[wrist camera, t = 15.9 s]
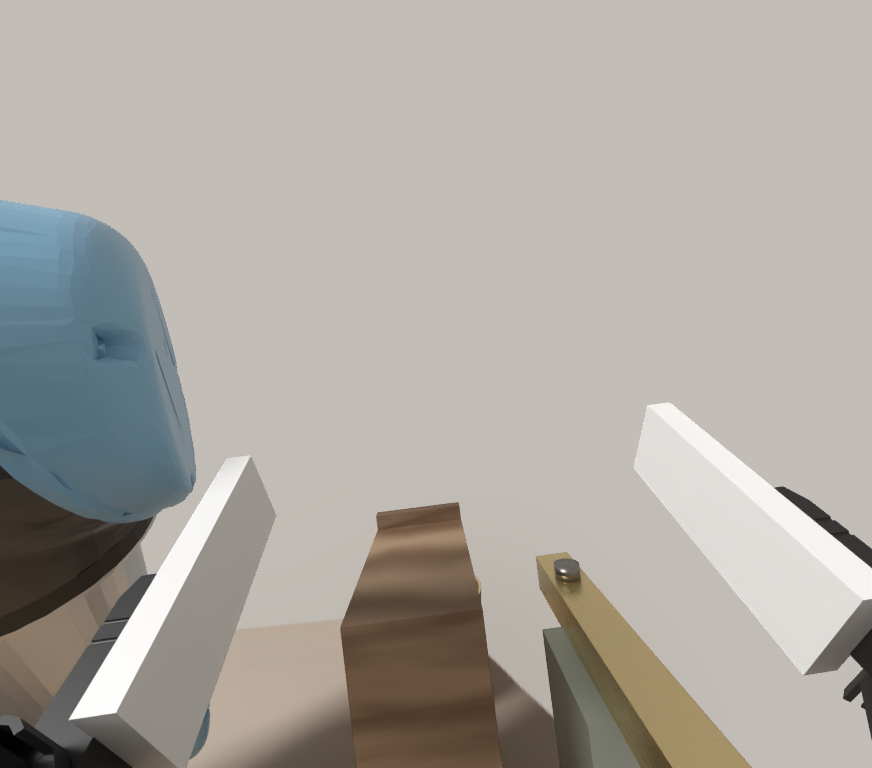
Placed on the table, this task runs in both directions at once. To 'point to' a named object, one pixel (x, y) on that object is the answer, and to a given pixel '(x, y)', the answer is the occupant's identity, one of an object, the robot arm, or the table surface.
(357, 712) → the walnut stand
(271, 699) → the table surface
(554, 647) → the grey block
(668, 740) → the brass bar
